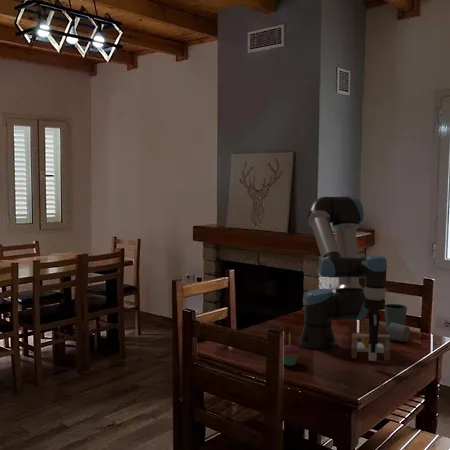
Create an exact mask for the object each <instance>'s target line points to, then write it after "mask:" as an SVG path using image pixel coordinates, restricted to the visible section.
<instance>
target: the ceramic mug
mask: <svg viewBox="0 0 450 450" xmlns="http://www.w3.org/2000/svg"><path fill="white" fill-rule="evenodd" d="M386 335H390V341H396V342H400V343H406V342H408V341H409V339H410V335H411V329H410V327H409V326H408V325H400V324H397V323H393V322H391V323H390V324H389V326H388V330H387V331H386Z"/></svg>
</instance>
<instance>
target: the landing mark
mask: <svg viewBox="0 0 450 450" xmlns="http://www.w3.org/2000/svg"><path fill="white" fill-rule="evenodd" d="M357 352H358V353H359V352H362V353H369V347H366V346H364V345H363V343H362V341H357ZM377 353H378V354H384V343H379V342H378V343H377Z"/></svg>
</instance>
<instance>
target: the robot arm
mask: <svg viewBox="0 0 450 450" xmlns="http://www.w3.org/2000/svg"><path fill="white" fill-rule="evenodd" d="M363 207H364V206H363V204H362V202H361V200H360V199H359V198H358V197H355V196H322V197H319V198H317V199H316V200H314V201H313V202H312V203H311V204H310V206H309V207H308V210H307V215H306V216H307V217H306V219H307V222H308V225H309V226H310V227H311V228H312V231H313V233H314V237H315V240H316V244H317V247H318V250H319V253H320V259H318V260H319V261H318V273H319V275H320V276H321V277H324V278H338V286H337V287H335V292H333V290H332V289H330V288H317V289H312V290H308V291H307V292H306V293H305V296H304V316H303V317H304V320H303V321H304V324H303V329H302V331H301V335H300V336H299V345H301V346H302V347H305V348H308V349H315V350H326V349H333V348H334V347H336V341H337V340H336V337H335V334H334V330H333V326H332V325H333V321H353V322H354V321H362V320H363V319H365V318H366V316H368V326H369V327H368V334H369V342H368V344H369V352H368V361H371V362H377V343H378V344H379V340H378V335H379V325H380V319H381V314H380V312H379V311H383V310H384V309H385V305H386V299H385V298H386V293H387V292H388V289H387V287H386V286H387V269H388V264H387V261H388V260H387V258H386V257H385V256H380V255H367V256H359V257H358V244H357V243H358V242H357V241H358V239H357V230H358V228H360V224H361V223H362V222H364V208H363ZM331 224H332V225H331ZM332 228H333V229H332ZM333 230H334V231H335V233H336V238H335V234H334V232H333ZM360 278H364V287H362V285H360ZM368 311H369V312H368Z"/></svg>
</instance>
